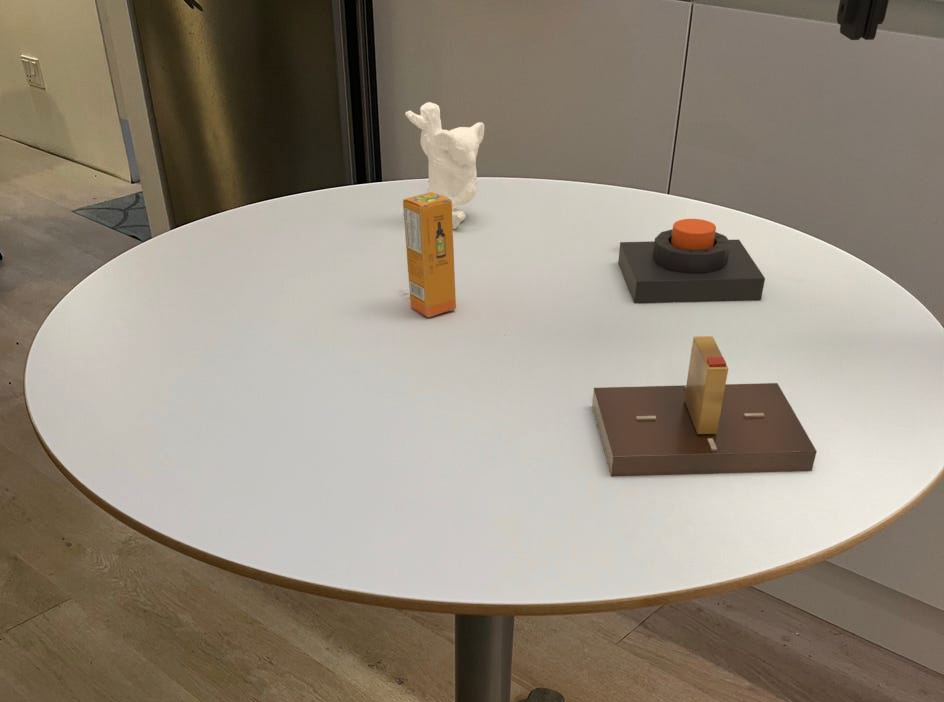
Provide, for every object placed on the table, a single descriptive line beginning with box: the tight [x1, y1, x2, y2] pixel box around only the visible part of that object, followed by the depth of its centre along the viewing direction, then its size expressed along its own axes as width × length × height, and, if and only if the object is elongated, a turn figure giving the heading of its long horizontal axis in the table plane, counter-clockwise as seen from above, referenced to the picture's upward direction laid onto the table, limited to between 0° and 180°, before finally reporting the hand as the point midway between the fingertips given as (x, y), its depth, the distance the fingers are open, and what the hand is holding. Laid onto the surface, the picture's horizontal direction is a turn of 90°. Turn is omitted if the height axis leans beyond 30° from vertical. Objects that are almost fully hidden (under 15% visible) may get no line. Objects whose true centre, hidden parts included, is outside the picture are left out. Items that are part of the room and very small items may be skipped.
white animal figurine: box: [404, 101, 485, 230], centre depth 108 cm, size 8×7×12 cm
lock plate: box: [591, 382, 818, 478], centre depth 74 cm, size 14×10×3 cm
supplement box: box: [402, 192, 457, 318], centre depth 91 cm, size 3×3×10 cm
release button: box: [671, 218, 717, 250], centre depth 96 cm, size 4×4×2 cm
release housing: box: [617, 228, 766, 305], centre depth 97 cm, size 12×10×4 cm
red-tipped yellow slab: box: [684, 335, 729, 434], centre depth 71 cm, size 5×1×5 cm, turn 1°
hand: (856, 35), depth 75 cm, fingers closed
